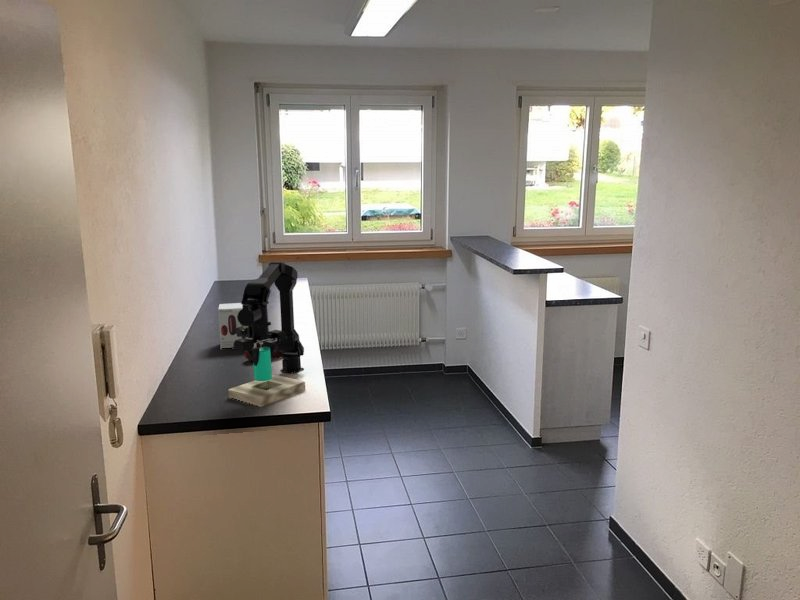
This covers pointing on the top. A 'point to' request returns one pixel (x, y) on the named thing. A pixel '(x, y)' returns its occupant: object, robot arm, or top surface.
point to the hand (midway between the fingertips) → (262, 364)
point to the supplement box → (229, 324)
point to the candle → (263, 365)
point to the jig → (261, 396)
